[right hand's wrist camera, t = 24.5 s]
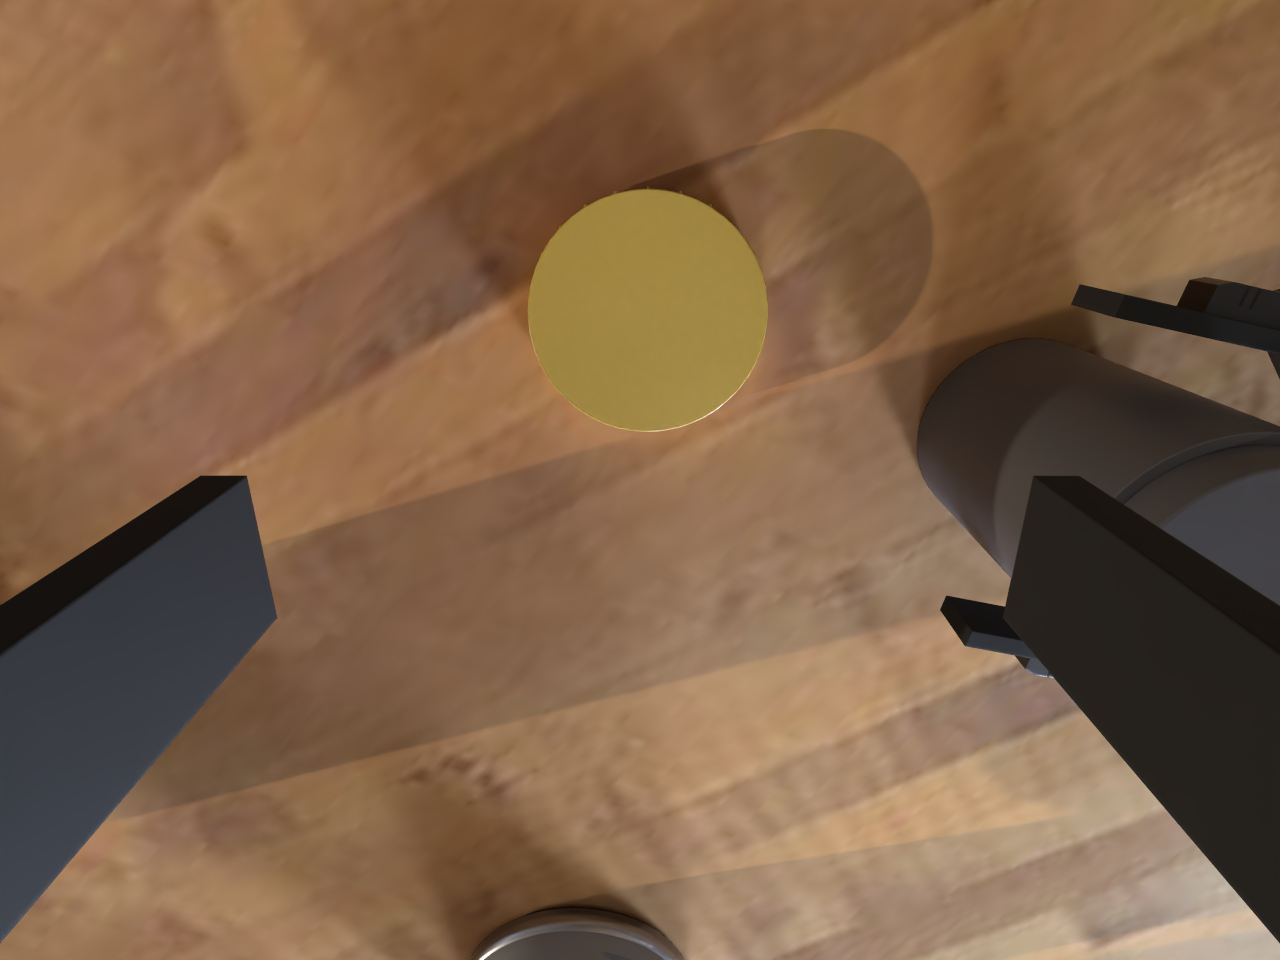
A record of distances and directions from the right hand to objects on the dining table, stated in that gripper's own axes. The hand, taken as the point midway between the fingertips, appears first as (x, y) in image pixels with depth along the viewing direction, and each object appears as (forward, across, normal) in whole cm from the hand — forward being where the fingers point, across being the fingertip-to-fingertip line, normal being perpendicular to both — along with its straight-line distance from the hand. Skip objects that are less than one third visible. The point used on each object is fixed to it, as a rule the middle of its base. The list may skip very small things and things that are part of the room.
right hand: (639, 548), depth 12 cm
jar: (+22, +18, -5) cm, 28 cm away
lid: (+20, 0, +1) cm, 20 cm away
